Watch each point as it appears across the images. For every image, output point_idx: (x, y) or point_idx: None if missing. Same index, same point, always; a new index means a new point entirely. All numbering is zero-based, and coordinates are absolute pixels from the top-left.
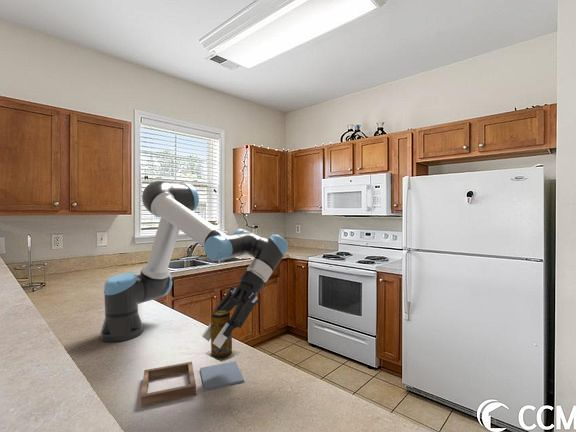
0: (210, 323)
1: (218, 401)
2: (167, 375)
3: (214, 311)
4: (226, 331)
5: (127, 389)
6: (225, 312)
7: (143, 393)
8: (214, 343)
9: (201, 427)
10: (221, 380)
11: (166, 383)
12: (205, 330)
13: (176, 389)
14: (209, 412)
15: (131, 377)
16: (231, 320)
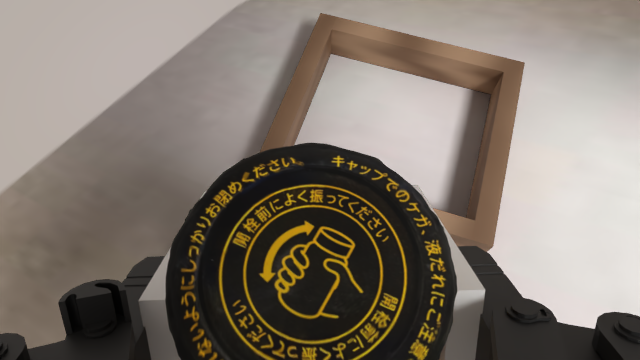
0: (453, 241)
1: (148, 238)
2: (480, 153)
3: (621, 325)
4: (142, 280)
5: (461, 31)
6: (279, 342)
7: (337, 23)
8: (202, 196)
9: (74, 134)
10: None
11: (420, 134)
12: (429, 205)
13: (280, 107)
14: (117, 183)
15: (547, 55)
16: (91, 343)
